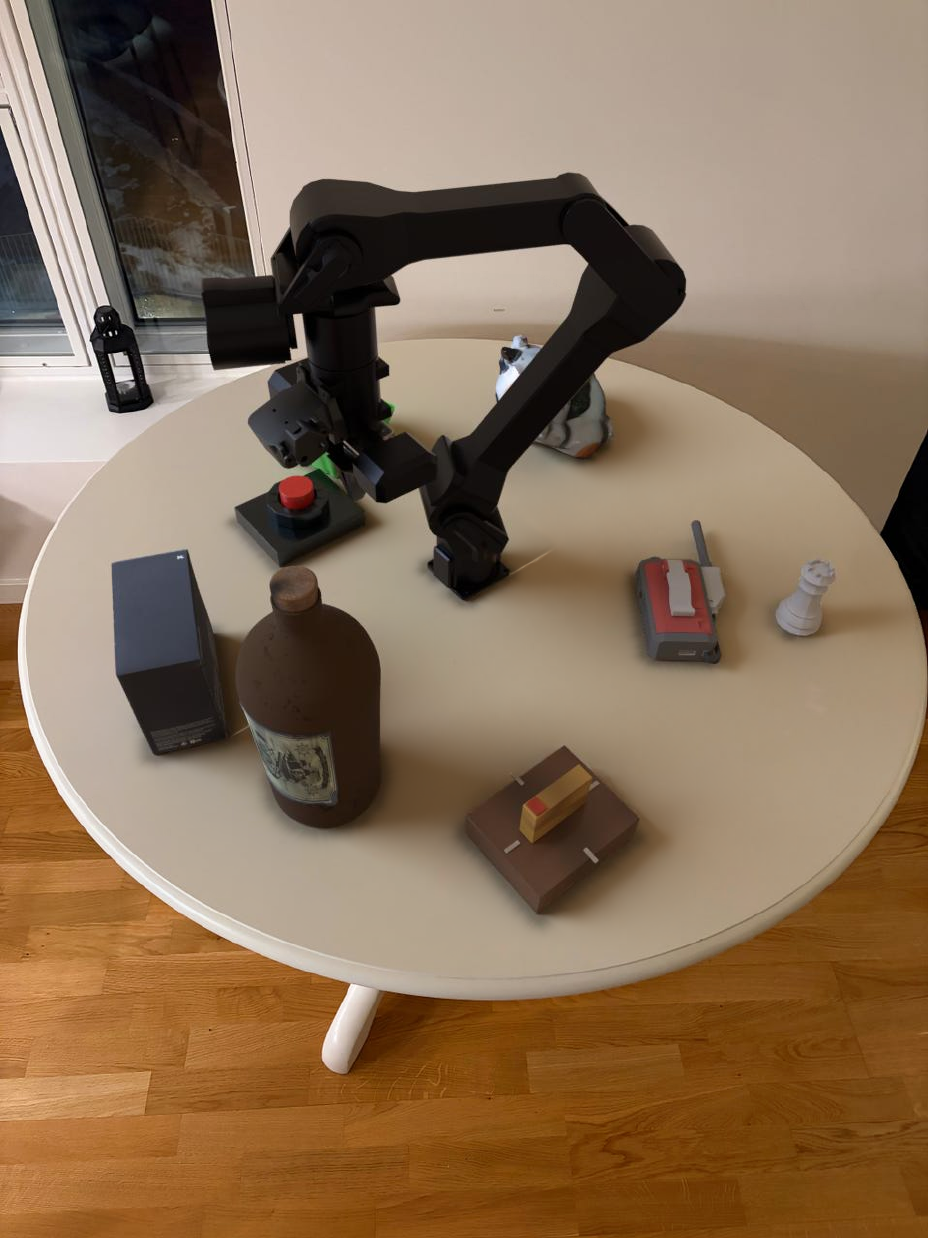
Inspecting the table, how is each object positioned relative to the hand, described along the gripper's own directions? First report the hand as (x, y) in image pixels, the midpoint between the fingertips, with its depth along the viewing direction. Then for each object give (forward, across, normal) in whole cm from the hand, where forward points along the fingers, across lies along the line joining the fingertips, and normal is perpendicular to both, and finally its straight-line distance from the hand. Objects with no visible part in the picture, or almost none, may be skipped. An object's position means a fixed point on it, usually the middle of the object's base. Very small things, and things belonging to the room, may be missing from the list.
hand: (356, 498), depth 85 cm
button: (+8, -12, 0) cm, 15 cm away
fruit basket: (+12, -19, +10) cm, 25 cm away
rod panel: (+12, +33, -3) cm, 35 cm away
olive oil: (+12, +18, -16) cm, 26 cm away
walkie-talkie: (+12, +20, +26) cm, 35 cm away
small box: (+12, +2, -21) cm, 24 cm away
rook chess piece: (+12, +30, +33) cm, 46 cm away
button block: (+12, -12, 0) cm, 17 cm away
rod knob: (+9, +33, -3) cm, 34 cm away
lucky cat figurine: (+12, -8, +33) cm, 36 cm away
